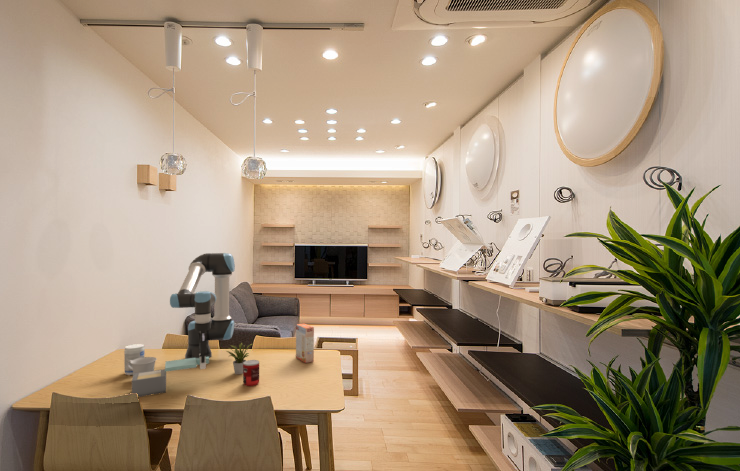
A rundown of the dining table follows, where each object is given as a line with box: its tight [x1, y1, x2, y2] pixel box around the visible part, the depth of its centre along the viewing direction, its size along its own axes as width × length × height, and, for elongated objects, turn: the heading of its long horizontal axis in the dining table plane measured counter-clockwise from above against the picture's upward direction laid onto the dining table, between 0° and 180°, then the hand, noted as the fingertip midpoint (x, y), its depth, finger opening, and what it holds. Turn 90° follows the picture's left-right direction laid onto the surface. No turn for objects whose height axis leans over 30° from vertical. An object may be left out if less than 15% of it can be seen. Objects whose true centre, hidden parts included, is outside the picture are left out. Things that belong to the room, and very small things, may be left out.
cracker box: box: [295, 322, 315, 364], centre depth 237 cm, size 14×6×21 cm, turn 34°
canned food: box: [242, 359, 260, 387], centre depth 199 cm, size 8×8×11 cm
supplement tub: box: [123, 343, 145, 376], centre depth 214 cm, size 10×10×15 cm
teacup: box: [127, 356, 158, 374], centre depth 205 cm, size 12×15×10 cm
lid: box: [164, 357, 210, 373], centre depth 196 cm, size 20×12×2 cm, turn 116°
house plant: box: [226, 342, 253, 375], centre depth 216 cm, size 14×14×16 cm
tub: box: [131, 368, 167, 398], centre depth 189 cm, size 14×11×8 cm
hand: (202, 367), depth 199 cm, fingers closed on lid, 4 cm apart
